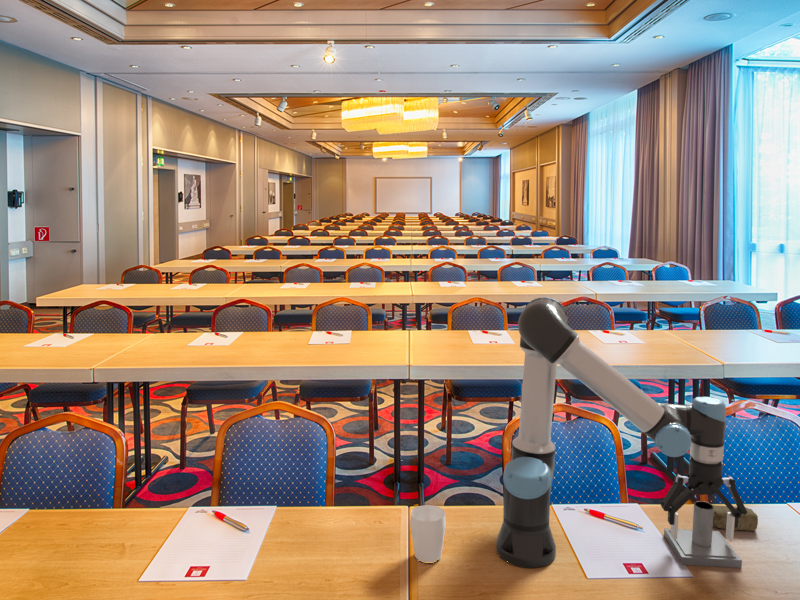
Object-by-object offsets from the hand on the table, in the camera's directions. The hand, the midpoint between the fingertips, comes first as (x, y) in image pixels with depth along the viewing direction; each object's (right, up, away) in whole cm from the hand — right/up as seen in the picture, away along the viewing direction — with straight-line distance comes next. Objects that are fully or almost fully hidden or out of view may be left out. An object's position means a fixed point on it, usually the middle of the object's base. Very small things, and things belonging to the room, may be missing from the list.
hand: (701, 537), depth 154 cm
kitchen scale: (0, -4, 0) cm, 4 cm away
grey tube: (0, -2, 0) cm, 2 cm away
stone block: (+15, -2, +13) cm, 20 cm away
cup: (-71, -5, -1) cm, 71 cm away
